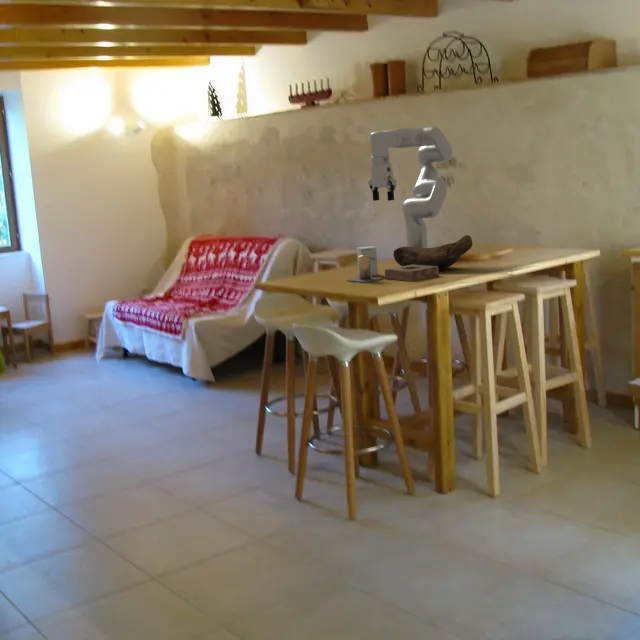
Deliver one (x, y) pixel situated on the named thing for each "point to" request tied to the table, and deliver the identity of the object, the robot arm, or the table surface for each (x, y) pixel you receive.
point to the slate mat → (365, 280)
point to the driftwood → (433, 254)
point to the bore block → (411, 272)
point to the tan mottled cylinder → (364, 267)
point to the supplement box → (373, 257)
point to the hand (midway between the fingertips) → (383, 200)
